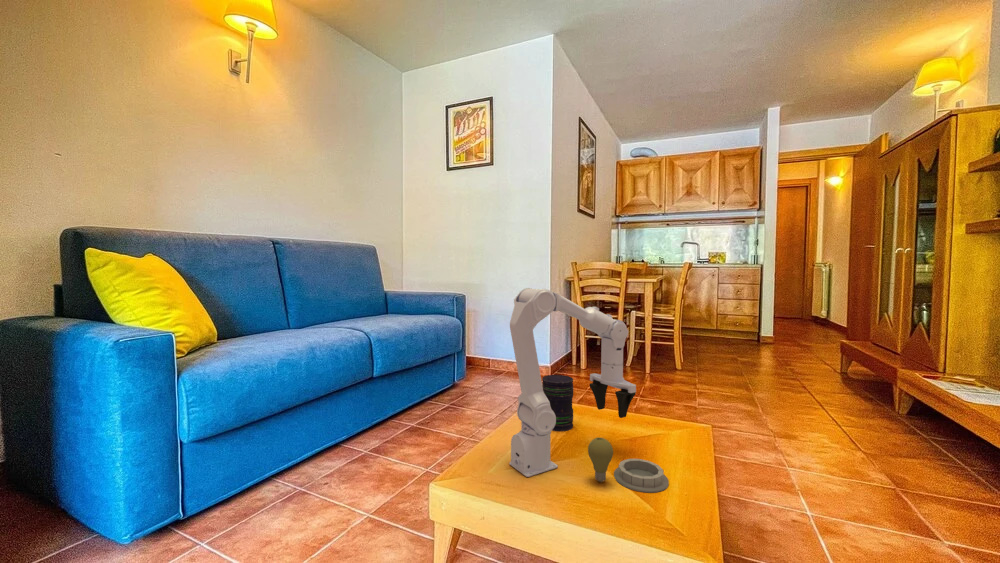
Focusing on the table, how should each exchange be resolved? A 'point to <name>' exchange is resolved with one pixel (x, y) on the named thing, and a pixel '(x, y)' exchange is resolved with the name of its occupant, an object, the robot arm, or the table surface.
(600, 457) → the light bulb
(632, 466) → the bulb holder
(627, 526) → the table surface
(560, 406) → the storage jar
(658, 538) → the table surface
